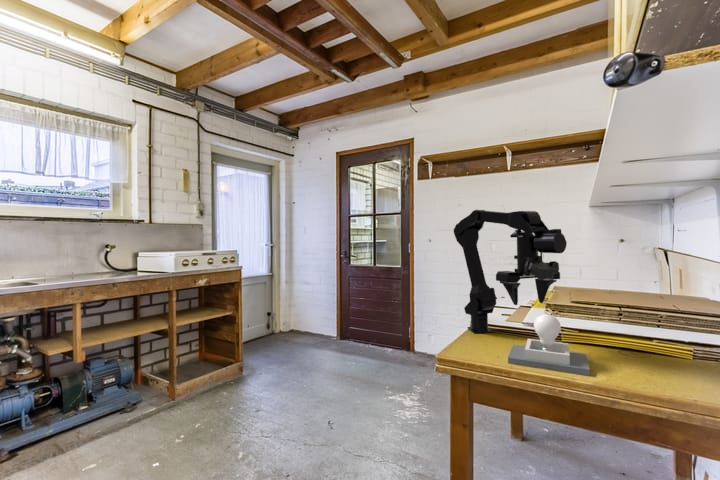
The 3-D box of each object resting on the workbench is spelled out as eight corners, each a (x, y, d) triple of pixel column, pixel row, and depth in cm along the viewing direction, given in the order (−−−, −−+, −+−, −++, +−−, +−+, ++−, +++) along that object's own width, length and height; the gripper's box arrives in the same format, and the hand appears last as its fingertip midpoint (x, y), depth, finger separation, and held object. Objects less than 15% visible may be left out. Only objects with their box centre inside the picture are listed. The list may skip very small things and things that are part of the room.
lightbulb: (530, 355, 90) (529, 314, 90) (539, 349, 95) (538, 310, 94) (556, 361, 86) (555, 318, 85) (564, 355, 90) (563, 314, 90)
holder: (508, 363, 89) (507, 348, 89) (513, 349, 100) (513, 336, 100) (589, 376, 80) (589, 359, 80) (586, 359, 90) (585, 344, 90)
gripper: (520, 254, 91) (521, 311, 92) (575, 252, 96) (576, 306, 96) (494, 253, 102) (495, 304, 102) (545, 250, 107) (546, 299, 107)
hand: (528, 303), depth 102 cm, fingers open, 9 cm apart
